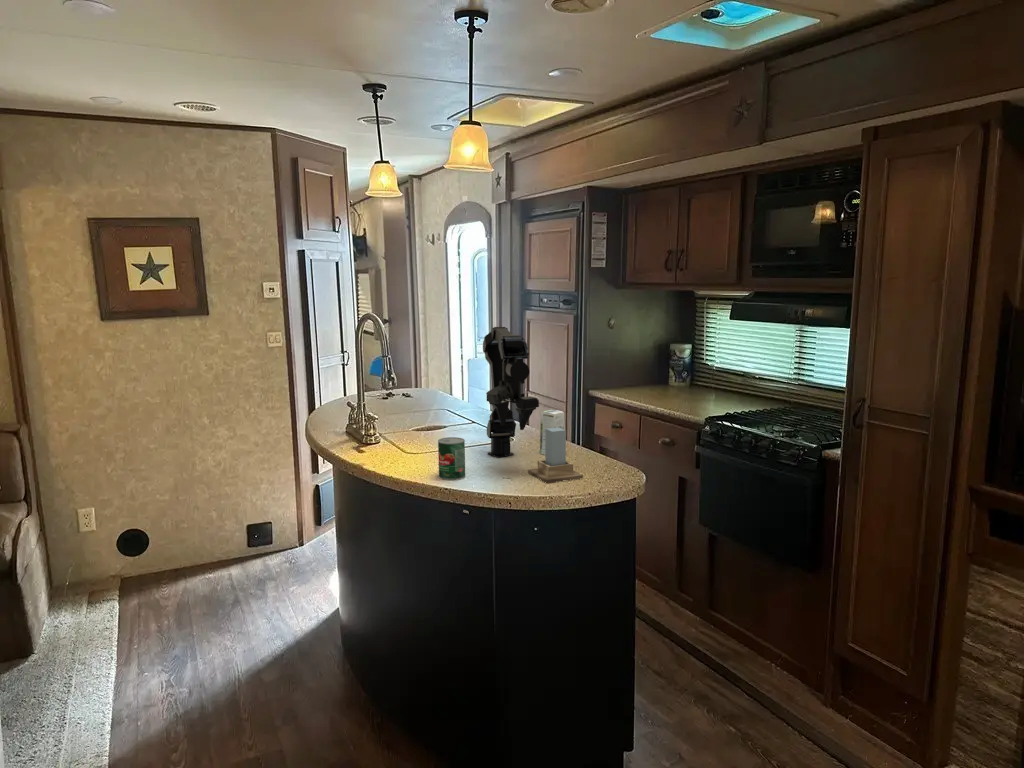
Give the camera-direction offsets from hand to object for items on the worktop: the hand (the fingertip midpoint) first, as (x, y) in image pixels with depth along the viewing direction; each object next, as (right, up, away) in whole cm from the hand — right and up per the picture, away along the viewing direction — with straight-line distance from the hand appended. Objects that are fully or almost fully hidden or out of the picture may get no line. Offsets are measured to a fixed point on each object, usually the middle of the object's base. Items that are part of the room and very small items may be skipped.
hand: (512, 427), depth 209 cm
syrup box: (+13, -10, +20) cm, 26 cm away
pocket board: (+13, -14, -6) cm, 20 cm away
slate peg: (+13, -13, -6) cm, 19 cm away
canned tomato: (-18, -14, -6) cm, 24 cm away
